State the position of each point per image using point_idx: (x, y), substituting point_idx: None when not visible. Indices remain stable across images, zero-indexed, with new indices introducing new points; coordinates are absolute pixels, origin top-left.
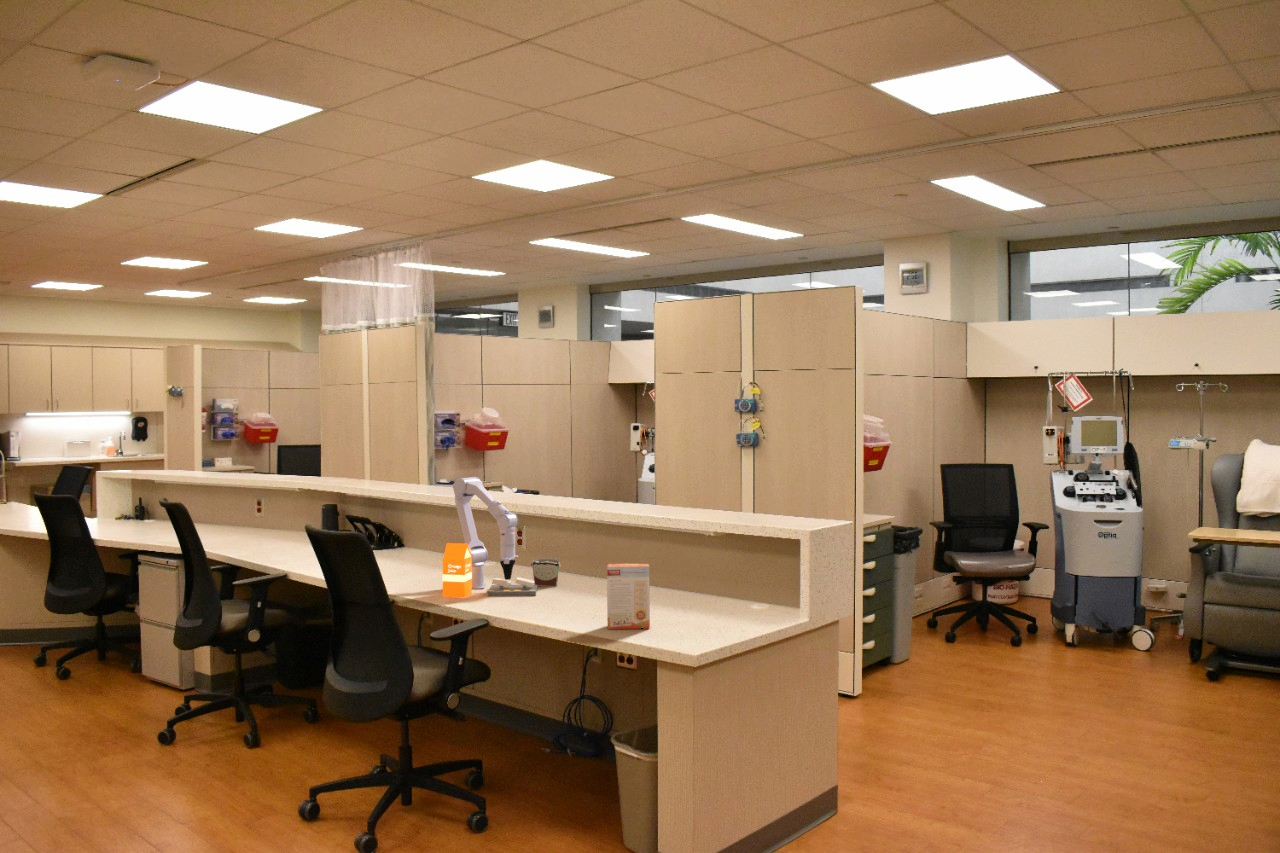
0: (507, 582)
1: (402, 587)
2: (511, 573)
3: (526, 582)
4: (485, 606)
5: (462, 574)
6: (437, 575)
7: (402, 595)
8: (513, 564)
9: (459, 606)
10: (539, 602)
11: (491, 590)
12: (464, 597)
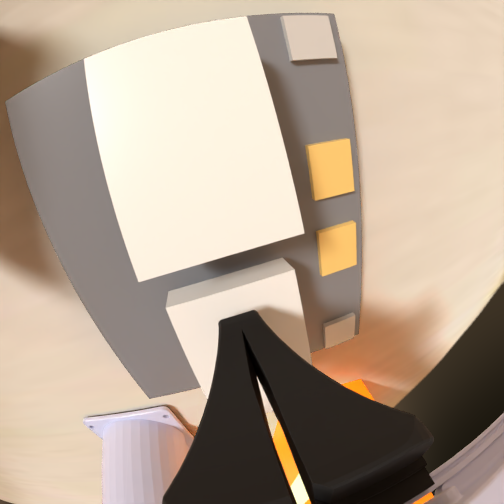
0: (291, 302)
1: None
2: (283, 345)
3: (267, 101)
4: (493, 241)
5: None
6: (62, 490)
7: None
8: (412, 417)
9: (470, 315)
10: (458, 18)
11: (337, 334)
12: (359, 379)
